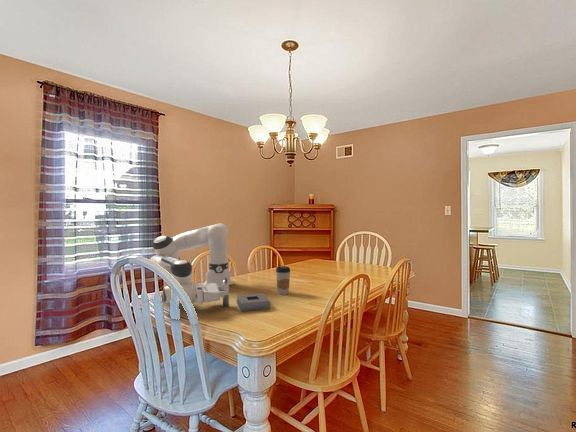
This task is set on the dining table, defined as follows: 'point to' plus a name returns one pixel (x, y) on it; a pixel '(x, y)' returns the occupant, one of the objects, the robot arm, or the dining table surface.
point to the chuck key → (225, 288)
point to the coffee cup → (283, 279)
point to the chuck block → (253, 302)
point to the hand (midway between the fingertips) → (227, 290)
